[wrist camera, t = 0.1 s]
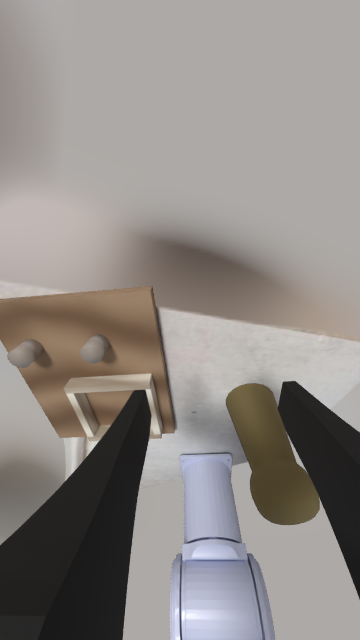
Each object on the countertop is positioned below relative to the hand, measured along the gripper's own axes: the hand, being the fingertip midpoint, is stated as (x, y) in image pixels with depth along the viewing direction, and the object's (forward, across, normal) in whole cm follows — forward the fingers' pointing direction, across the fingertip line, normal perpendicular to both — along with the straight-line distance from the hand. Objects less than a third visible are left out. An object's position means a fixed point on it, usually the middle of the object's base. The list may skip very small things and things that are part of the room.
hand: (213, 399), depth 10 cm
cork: (+10, -6, +12) cm, 17 cm away
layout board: (+10, +12, +6) cm, 17 cm away
